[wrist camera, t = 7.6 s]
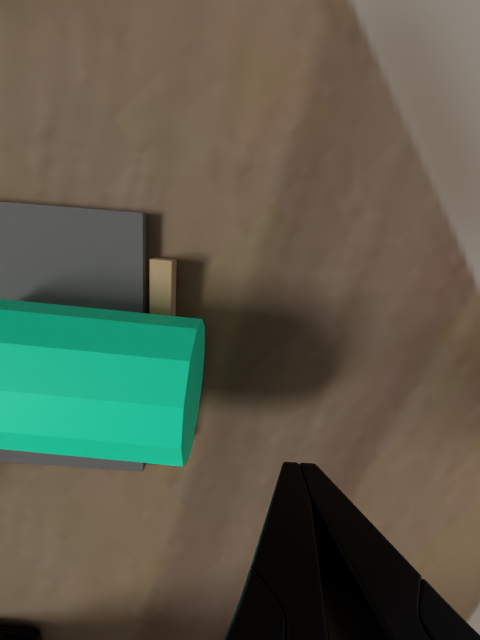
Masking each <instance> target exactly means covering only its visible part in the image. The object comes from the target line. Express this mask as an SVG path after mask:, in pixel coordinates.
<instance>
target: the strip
mask: <svg viewBox="0 0 480 640" xmlns="http://www.w3.org/2000/svg"><path fill="white" fill-rule="evenodd" d="M176 275H177V259H171V258H158V257H156V258H152V259H150V310H149V314H158V315H168V316H175V315H176Z"/></svg>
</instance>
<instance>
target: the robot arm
mask: <svg viewBox="0 0 480 640" xmlns="http://www.w3.org/2000/svg"><path fill="white" fill-rule="evenodd" d="M421 579H422V577H421V575H420V574H419V573H418V572H417V571H416V570H415V569H414V568H413V567H412V565H411V564H410V563H409V562H408V561H407V560H406V559H405V558H404V557H403V556H402V555H401V554H400V553H399V552H398V551H397V550H396V549H395V548H394V546H393V545H392V544H391V543H390V542H389V541H388V540H387V539H386V538H385V537H384V536H383V535H382V534H381V533H380V532H379V531H378V530H377V529H376V527H375V526H374V525H373V524H372V523H371V522H370V521H369V520H368V519H367V518H366V517H365V516H364V515H363V514H362V513H361V512H360V511H359V509H358V508H357V507H356V506H355V505H354V504H353V503H352V502H351V501H350V500H349V499H348V498H347V497H346V496H345V495H344V494H343V493H342V492H341V490H340V489H339V488H338V487H337V486H336V485H335V484H334V483H333V482H332V481H331V480H330V479H329V478H328V477H327V476H326V475H325V474H324V472H323V471H322V470H321V469H320V468H319V467H318V466H317V465H316V464H313V463H300V464H298V463H296V462H284V463H283V465H282V468H281V471H280V474H279V478H278V481H277V484H276V487H275V490H274V494H273V497H272V500H271V503H270V507H269V510H268V513H267V516H266V519H265V523H264V526H263V529H262V532H261V536H260V539H259V542H258V545H257V548H256V552H255V555H254V558H253V561H252V564H251V569H250V570H249V573H248V577H247V580H246V583H245V586H244V589H243V592H242V595H241V598H240V601H239V603H238V606H237V609H236V612H235V614H234V617H233V619H232V621H231V624H230V626H229V628H228V631H227V633H226V636H225V638H224V640H480V635H479V634H478V633H477V632H476V631H475V630H474V629H473V628H471V626H470V625H469V624H468V623H467V622H466V621H465V620H464V619H463V618H462V617H461V616H460V615H459V614H458V613H457V612H456V611H455V610H454V609H453V608H452V607H451V606H450V605H449V604H448V603H447V602H446V601H445V600H444V599H443V598H442V597H441V596H440V595H439V594H438V593H437V592H436V591H435V590H434V589H433V587H432V586H431V585H430V584H429V583H428V582H427V581H426V580H425V579H422V580H421ZM0 640H41V637H40V632H39V631H38V630H36V629H34V628H21V627H5V626H0Z"/></svg>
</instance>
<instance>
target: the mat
mask: <svg viewBox="0 0 480 640" xmlns="http://www.w3.org/2000/svg"><path fill="white" fill-rule="evenodd" d="M0 299H7V300H17V301H27V302H37V303H47V304H57V305H67V306H77V307H87V308H98V309H108V310H118V311H128V312H138V313H146V214H145V213H137V212H124V211H112V210H99V209H87V208H74V207H62V206H49V205H36V204H24V203H11V202H0ZM0 462H14V463H28V464H43V465H57V466H72V467H86V468H101V469H115V470H130V471H143V470H144V468H145V466H146V463H141V462H131V461H120V460H109V459H99V458H88V457H78V456H67V455H56V454H46V453H35V452H24V451H14V450H3V449H0Z"/></svg>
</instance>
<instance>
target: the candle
mask: <svg viewBox="0 0 480 640" xmlns="http://www.w3.org/2000/svg"><path fill="white" fill-rule="evenodd" d="M204 354H205V326H204V323H203V319H198V318H188V317H178V316H168V315H158V314H148V313H138V312H128V311H118V310H108V309H98V308H87V307H77V306H67V305H57V304H47V303H37V302H27V301H17V300H7V299H0V449H3V450H14V451H24V452H35V453H46V454H56V455H67V456H78V457H88V458H99V459H109V460H120V461H131V462H141V463H152V464H162V465H173V466H184V465H185V463H186V462H187V461H188V459H189V455H190V451H191V447H192V443H193V439H194V434H195V428H196V422H197V416H198V411H199V403H200V395H201V387H202V379H203V367H204Z"/></svg>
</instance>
